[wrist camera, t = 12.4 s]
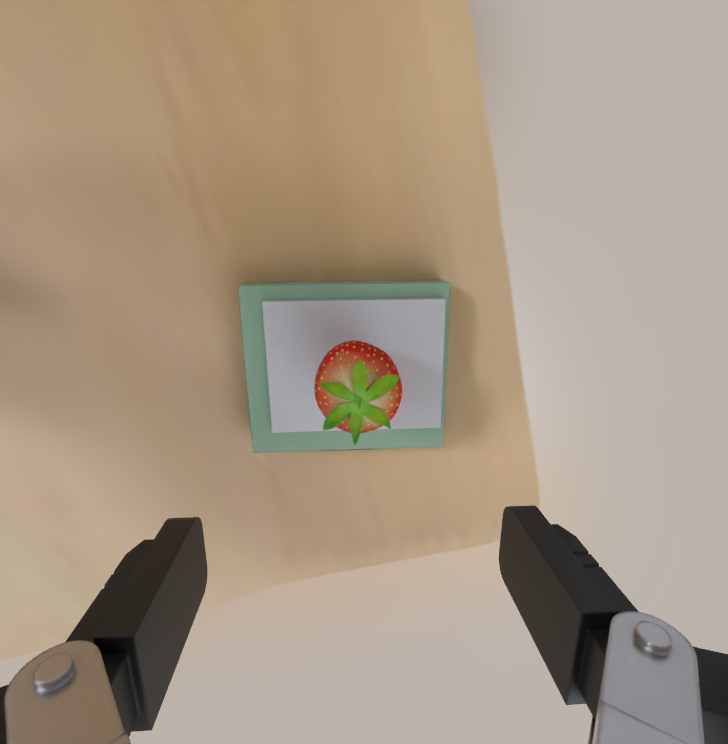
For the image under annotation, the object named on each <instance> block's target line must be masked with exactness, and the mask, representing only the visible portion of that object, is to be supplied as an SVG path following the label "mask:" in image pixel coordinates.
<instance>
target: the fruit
mask: <svg viewBox="0 0 728 744" xmlns="http://www.w3.org/2000/svg"><path fill="white" fill-rule="evenodd" d="M400 377H401V376H400V375H399V373H398V370H397V368H396V366H395V364H394V362H393V361H392V359H391V357H390V356H389V355H388V354H387V353H386V352H384V351H383V350H381V349H379V348H378V347H376V346H373V345H371V344H369V343H366V342H362V341H354V340H352V341H346V342H343V343H341V344H338V345H336V346H335V347H333V348H332V349H331V350H329V352H328V353H327V354H326V355H325V356H324V358H323V360H322V361H321V363H320V365H319V367H318V370H317V373H316V378H315V384H314V393H315V399H316V402H317V405H318V407H319V409H320V410H321V412H322V414H323V415H324V416H325V417H326V419H325V422H324V424H323V430H329V429H332V428H334V427H337V428H339V429H341V430H343V431H345V432H349V433H351V434H352V439H353V442H354V445H356V443H357V441H358V438H359V435H360V433H366V432H370V431H373V430H375V429H378V428H380V427H382V426H386V427H388V428H390V429H391V425H390V422H389V421H390V420H391V419H392V418H393V417H394V415H395V414H396V412H397V411H398V408H399V405H400V402H401V398H402V383H401V379H400Z"/></svg>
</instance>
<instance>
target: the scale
mask: <svg viewBox="0 0 728 744" xmlns="http://www.w3.org/2000/svg"><path fill="white" fill-rule="evenodd" d="M238 294H239V305H240V316H241V327H242V338H243V349H244V359H245V370H246V381H247V392H248V403H249V414H250V425H251V436H252V447H253V453H260V452H291V451H330V450H361V449H385V448H416V447H443V437H444V414H445V391H446V368H447V346H448V323H449V300H450V282H447V281H443V280H395V281H327V282H260V283H244V284H242V285H239V286H238ZM352 340H354V341H362V342H366V343H369V344H371V345H373V346H376V347H378V348H379V349H381V350H383V351H384V352H386V353H387V354H388V355H389V356H390V357H391V359H392V361H393V362H394V364H395V366H396V368H397V370H398V373H399V375H400V376H401V377H400V379H401V383H402V398H401V402H400V405H399V408H398V411H397V412H396V414H395V415H394V417H393V418H392V419H391V420H390V421H389V422H390V425H391V429H390V428H388V427H386V426H382V427H380V428H378V429H375V430H373V431H370V432H366V433H360V435H359V438H358V441H357V443H356V445H354V442H353V439H352V434H351V433H349V432H345V431H343V430H341V429H339V428H337V427H334V428H332V429H329V430H323V424H324V422H325V419H326V417H325V416H324V415H323V414H322V412H321V410H320V409H319V407H318V405H317V402H316V399H315V393H314V384H315V378H316V373H317V370H318V367H319V365H320V363H321V361H322V360H323V358H324V356H325V355H326V354H327V353H328V352H329V350H331V349H332V348H333V347H335V346H336V345H338V344H341V343H343V342H346V341H352Z"/></svg>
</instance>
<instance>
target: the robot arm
mask: <svg viewBox="0 0 728 744" xmlns="http://www.w3.org/2000/svg"><path fill="white" fill-rule="evenodd" d="M499 564H500V570H501V575H502V578H503V580H504V582H505V585H506V586H507V588H508V590H509V592H510V594H511V596H512V598H513V600H514V602H515V604H516V606H517V608H518V610H519V612H520V614H521V616H522V618H523V620H524V622H525V624H526V626H527V628H528V630H529V632H530V634H531V636H532V638H533V640H534V642H535V644H536V646H537V648H538V650H539V652H540V654H541V656H542V658H543V660H544V662H545V663H546V666H547V668H548V670H549V672H550V674H551V676H552V678H553V679H554V682H555V684H556V685H557V687H558V689H559V691H560V693H561V695H562V697H563V699H564V701H565V703H566V705H571V704H587V706H588V708H589V709H590V711H591V713H592V715H593V716H592V721H591V726H590V733H589V739H588V744H728V654H723V653H719V652H714V651H710V650H705V649H700V648H696V647H693V646H692V645H691V644H690V642H689V641H688V640H687V639H686V638H685V637H684V636H683V635H682V634H681V633H680V632H679V631H678V630H677V629H675V628H674V627H673V626H671V625H669V624H668V623H666V622H664V621H663V620H661V619H659V618H656V617H654V616H652V615H649V614H645V613H641V612H638V610H637V609H636V608H635V607H634V606H633V605H632V603H631V602H630V601H629V600H628V599H627V597H626V596H625V595H624V594H623V593H622V591H621V590H620V589H619V588H618V587H617V586H616V584H615V583H614V582H613V581H612V579H611V578H610V577H609V576H608V575H607V573H606V572H605V571H604V570H603V569H602V567H599V564H598V563H597V561H596V560H595V559H594V558H593V557H592V555H591V554H588V551H587V550H586V548H585V547H584V546H583V545H582V544H581V542H580V541H579V540H578V539H577V537H576V536H574V535H573V534H571V533H570V532H568V531H567V530H565V529H564V528H562V527H561V526H559V525H558V524H553V525H551V524H550V523H549V522H548V521H547V519H546V518H545V517H544V515H543V514H542V513H541V512H540V510H539V509H538V508H537V507H536V506H510V507H506V508H505V509H504V512H503V520H502V530H501V540H500V550H499ZM206 583H207V561H206V553H205V545H204V536H203V528H202V522H201V519H200V518H199V517H193V518H169V519H167V520H166V522H165V523H164V525H163V526H162V528H161V529H160V531H159V533H158V534H157V536H156V537H155V539H154V540H144V541H142V542H141V543H140V544H139V545H137V546H136V547H135V548H133V549H132V550H131V551H130V552H128V553H127V554H126V555H125V556H124V558H123V559H122V561H121V562H120V564H119V565H118V567H117V568H116V570H115V571H114V575H111V577H110V578H109V580H108V581H107V583H106V584H105V587H104V589H102V590H101V591H100V593H99V594H98V596H97V597H96V599H95V600H94V601H93V603H92V604H91V606H90V607H89V609H88V610H87V612H86V613H85V615H84V616H83V617H82V619H81V620H80V622H79V623H78V625H77V626H76V628H75V629H74V630H73V632H72V633H71V635H70V636H69V638H68V639H67V641H66V642H65V643H62V644H59V645H57V646H54V647H52V648H50V649H48V650H46V651H44V652H42V653H41V654H39V655H38V656H36V657H35V658H33V659H32V660H31V661H30V662H28V663H27V664H26V665H25V666H24V667H23V668H21V669H20V671H19V672H18V673H17V674H16V675H15V676H14V678H13V679H12V681H11V682H10V684H9V685H6V686H3V687H1V688H0V744H131V743H130V740H129V736H130V733H131V731H146V730H152V728H153V725H154V723H155V720H156V718H157V715H158V712H159V710H160V707H161V704H162V702H163V699H164V697H165V694H166V691H167V689H168V686H169V684H170V681H171V679H172V676H173V673H174V671H175V668H176V666H177V663H178V660H179V658H180V655H181V653H182V650H183V647H184V645H185V642H186V640H187V637H188V634H189V632H190V629H191V627H192V624H193V621H194V619H195V616H196V614H197V611H198V608H199V606H200V603H201V600H202V598H203V595H204V592H205V588H206Z"/></svg>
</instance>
